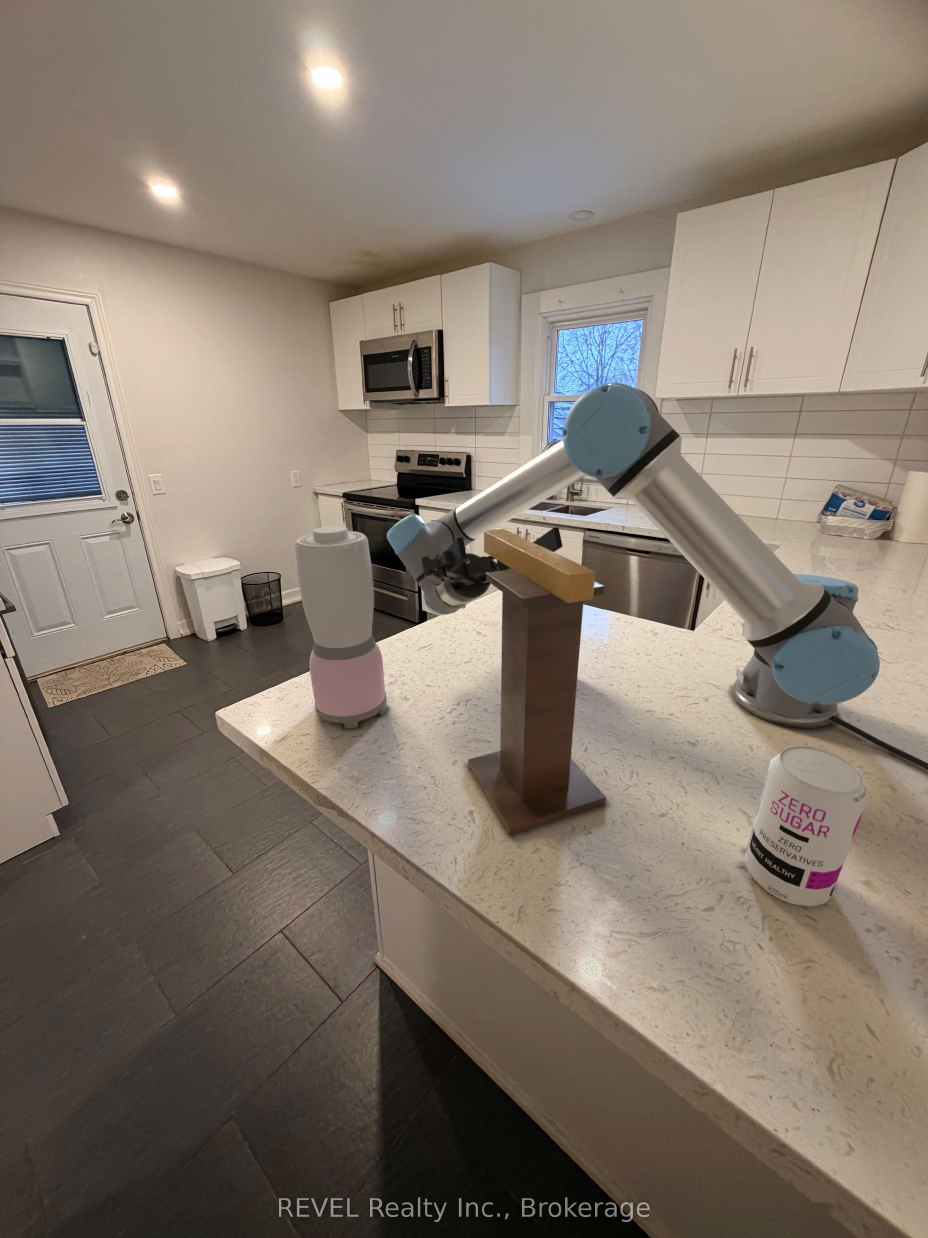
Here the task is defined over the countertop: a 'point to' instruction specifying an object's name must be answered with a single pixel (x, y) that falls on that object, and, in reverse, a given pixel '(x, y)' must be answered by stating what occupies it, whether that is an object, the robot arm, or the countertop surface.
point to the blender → (341, 624)
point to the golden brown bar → (541, 565)
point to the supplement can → (805, 824)
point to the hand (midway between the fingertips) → (512, 542)
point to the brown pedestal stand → (536, 709)
